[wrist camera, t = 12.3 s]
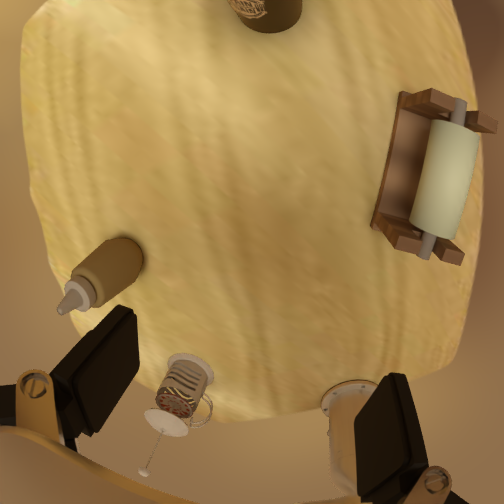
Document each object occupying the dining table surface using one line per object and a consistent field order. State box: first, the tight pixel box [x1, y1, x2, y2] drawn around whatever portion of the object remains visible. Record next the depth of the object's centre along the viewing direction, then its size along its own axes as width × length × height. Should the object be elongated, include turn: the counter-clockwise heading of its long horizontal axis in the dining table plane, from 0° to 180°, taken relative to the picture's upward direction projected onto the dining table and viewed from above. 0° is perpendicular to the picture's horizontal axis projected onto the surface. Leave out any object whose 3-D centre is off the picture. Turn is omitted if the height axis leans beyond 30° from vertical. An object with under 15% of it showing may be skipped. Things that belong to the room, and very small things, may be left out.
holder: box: [370, 88, 498, 266], centre depth 29 cm, size 19×9×11 cm, turn 171°
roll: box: [409, 98, 480, 260], centre depth 26 cm, size 19×6×6 cm
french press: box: [138, 353, 214, 476], centre depth 43 cm, size 10×12×25 cm
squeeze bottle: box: [57, 238, 143, 315], centre depth 38 cm, size 8×8×18 cm
